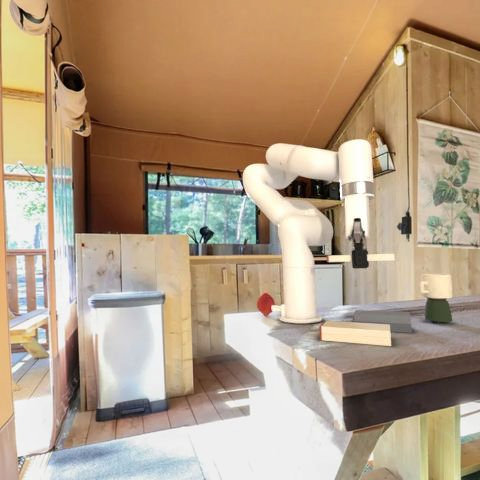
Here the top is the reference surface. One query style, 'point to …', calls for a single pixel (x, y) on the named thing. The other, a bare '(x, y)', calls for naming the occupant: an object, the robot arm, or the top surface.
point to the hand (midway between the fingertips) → (361, 267)
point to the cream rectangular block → (355, 332)
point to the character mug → (437, 296)
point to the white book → (369, 258)
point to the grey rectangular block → (385, 319)
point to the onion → (265, 303)
